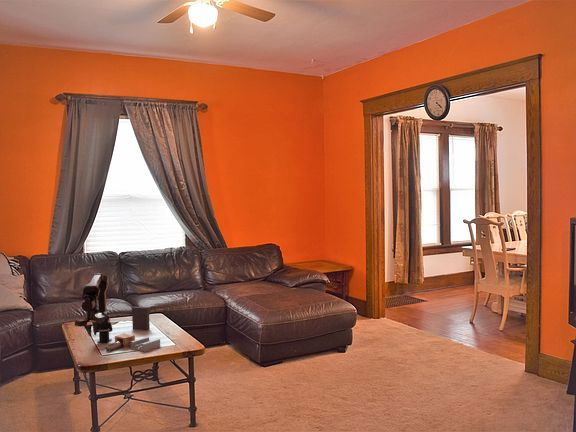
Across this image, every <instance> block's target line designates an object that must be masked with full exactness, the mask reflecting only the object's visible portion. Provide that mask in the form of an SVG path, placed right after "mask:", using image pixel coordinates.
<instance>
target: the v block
mask: <svg viewBox="0 0 576 432" xmlns="http://www.w3.org/2000/svg"><path fill="white" fill-rule="evenodd" d="M157 348H161V339H160V338H156V339H153V340H151V339H150V337H149V336H146V337H141V338H139V339H135V341H131V347H130V349H131V350H136V351H141V352H147V351H150V350H153V349H157Z"/></svg>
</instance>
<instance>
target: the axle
mask: <svg viewBox="0 0 576 432" xmlns="http://www.w3.org/2000/svg"><path fill="white" fill-rule="evenodd" d="M119 349H123V340H121V341H118V342H115V341H114V342H112V343H109V344H108V343H107V344H106V345H105V351H106V352H112V351H115V350H119Z"/></svg>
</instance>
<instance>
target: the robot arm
mask: <svg viewBox="0 0 576 432" xmlns="http://www.w3.org/2000/svg"><path fill="white" fill-rule="evenodd" d="M109 285H110V279H109V277H108V276H106V275H104V274H103V273H100V272H98V273H96V272H95V273H93V276H92V279H91V281H90V282H89V283H87V284H86V285H84V287H83V290H82V297H81V299H82V300H84V301H83V302H82V303H81V309H82V310H83V311H84V312H85V313H86V314H85V315H86V316H84V319H82V318H81V319H75V321H74V327H81V328H82V327H84V329H85V331H86V333H87V334H88V336H89V337H92V331H93V336H97V334H99V335H98V337H99V339H98V341H96V343H97V344H99V343H100V344H108V343H109V342H111V341H112V339H110V333H111V332H113V324H112V322H111V319H110V316H109V315H108V313H107V290H108V288H109ZM92 329H93V330H92Z"/></svg>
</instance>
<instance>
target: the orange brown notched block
mask: <svg viewBox="0 0 576 432" xmlns="http://www.w3.org/2000/svg"><path fill="white" fill-rule="evenodd" d="M121 340H123V347H122V349H128V348H131V341H135V340H136V335H135V334H129V333H121V334H116V335H115V336H114V343H115V342H118V341H121Z"/></svg>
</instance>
